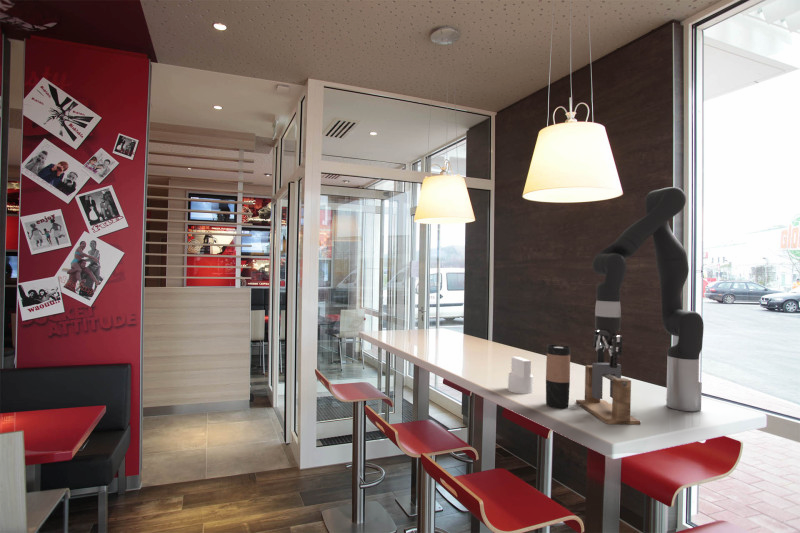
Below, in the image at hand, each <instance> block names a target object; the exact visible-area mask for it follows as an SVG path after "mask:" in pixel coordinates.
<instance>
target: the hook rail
mask: <svg viewBox="0 0 800 533" xmlns="http://www.w3.org/2000/svg"><path fill="white" fill-rule="evenodd" d="M584 367H585V371H584V374H585V375H584V399H576V400H575V402H576V403H575V404H577V405H579V406H580V407H581V408H584V409H585V410H586V411H588V412H589V413H591V414H592V415H594V416H595V417H597V419H599V420H601V421H603V423H606V424H607V425H640V424H641V421H640V420H639V419H638V418H636V417H634V416H632V415H631V408H632V407H631V405H632V404H631V403H632V402H631V401H632V398H631V396H632V394H631V393H632V380H631V379H628V378H625V377H623V378H622V377H621V378H617V377H615V376H612V375H610V374H603V378H605V379H607V380H609V381H610V380H611V381H613V398H611V399H612V400H611V401H612V403H609V402H608V401H607V400H605V399H604V400H603V399H595V398H594V397H592V364H591V365H588V364H587V365H585V366H584Z"/></svg>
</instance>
